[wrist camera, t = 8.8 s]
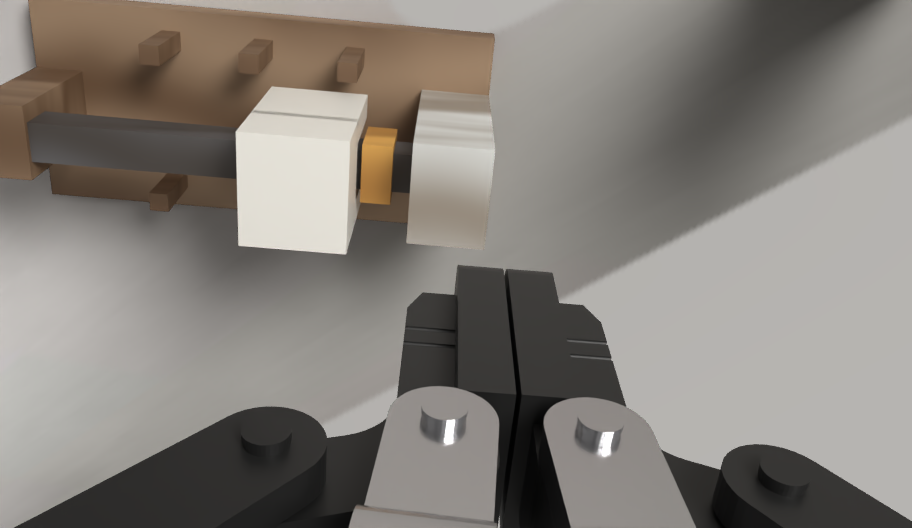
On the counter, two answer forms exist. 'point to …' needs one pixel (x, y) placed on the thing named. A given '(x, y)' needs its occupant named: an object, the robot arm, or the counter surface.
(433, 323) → the robot arm
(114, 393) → the counter surface
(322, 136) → the grooved cream cube
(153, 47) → the brown peg stand
